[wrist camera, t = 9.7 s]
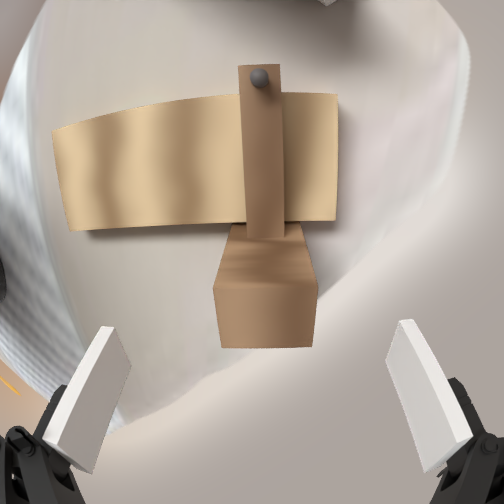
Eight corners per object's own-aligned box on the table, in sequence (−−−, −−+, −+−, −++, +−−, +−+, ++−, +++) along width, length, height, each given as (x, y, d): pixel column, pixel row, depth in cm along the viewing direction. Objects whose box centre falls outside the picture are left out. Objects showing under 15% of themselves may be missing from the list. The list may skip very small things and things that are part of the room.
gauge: (237, 263, 24) (221, 347, 15) (225, 77, 18) (191, 44, 9) (296, 262, 24) (312, 346, 15) (295, 74, 18) (319, 38, 9)
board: (81, 223, 23) (69, 231, 22) (65, 128, 19) (51, 130, 18) (329, 211, 22) (335, 220, 20) (330, 96, 18) (337, 94, 16)
